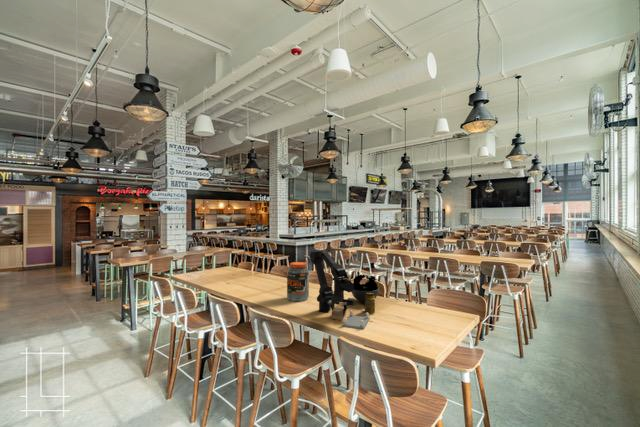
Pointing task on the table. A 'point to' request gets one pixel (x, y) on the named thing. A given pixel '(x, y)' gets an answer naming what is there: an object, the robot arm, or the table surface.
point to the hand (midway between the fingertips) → (338, 314)
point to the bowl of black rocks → (364, 288)
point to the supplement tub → (298, 281)
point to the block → (338, 313)
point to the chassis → (356, 321)
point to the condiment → (369, 304)
